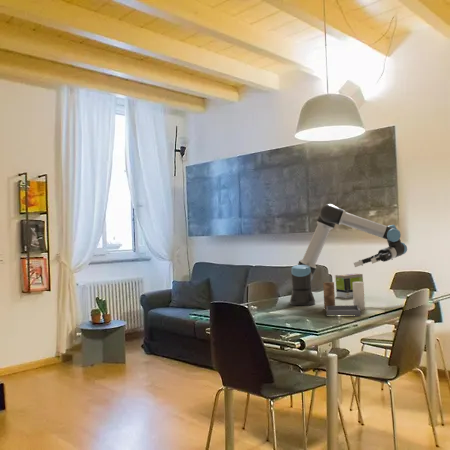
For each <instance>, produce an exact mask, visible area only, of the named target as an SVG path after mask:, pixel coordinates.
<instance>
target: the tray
mask: <svg viewBox="0 0 450 450" xmlns="http://www.w3.org/2000/svg"><path fill="white" fill-rule="evenodd" d="M325 311H326V312H327V313H326V312H325V313H326V316H327V315H355V316H354V317H361V316H362V314H361V310H360V309H359V307H358V305H354V304H353V305H335V306H326V310H325Z"/></svg>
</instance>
